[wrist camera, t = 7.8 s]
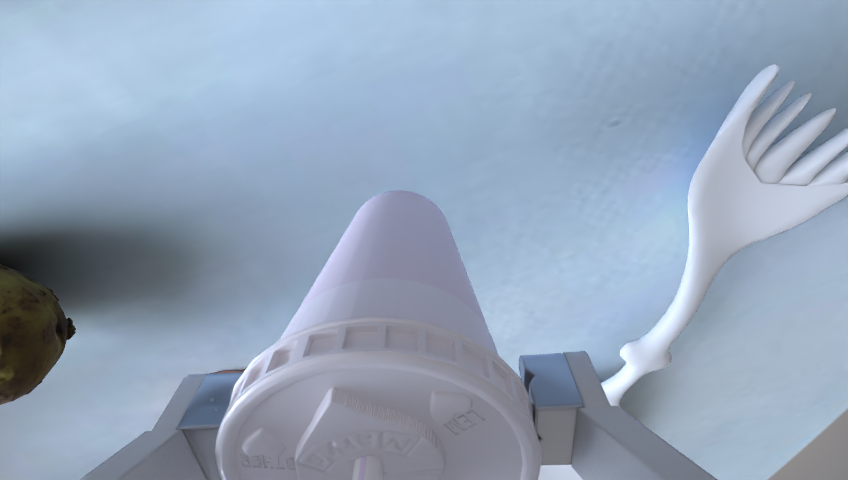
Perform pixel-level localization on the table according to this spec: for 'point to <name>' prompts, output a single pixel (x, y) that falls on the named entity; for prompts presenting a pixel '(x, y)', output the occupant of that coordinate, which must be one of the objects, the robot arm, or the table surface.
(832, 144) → the spoon
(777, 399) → the table surface
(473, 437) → the smoothie
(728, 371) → the table surface
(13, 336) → the green bumpy oval lump
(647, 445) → the robot arm
